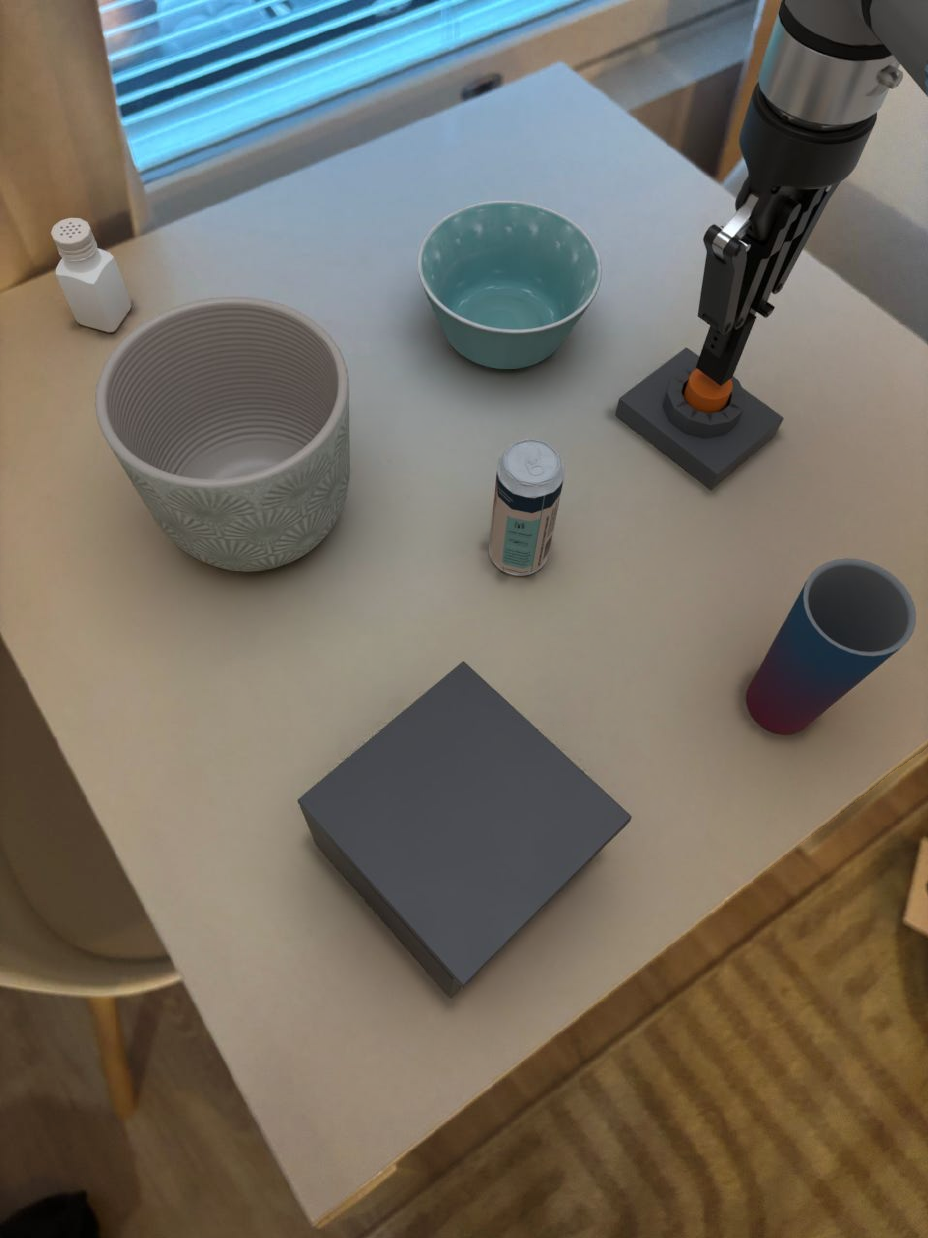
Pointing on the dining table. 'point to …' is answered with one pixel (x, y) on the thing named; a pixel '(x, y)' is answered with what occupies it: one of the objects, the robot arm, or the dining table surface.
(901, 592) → the cup
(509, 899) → the dark grey square slab
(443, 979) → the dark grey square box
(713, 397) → the button
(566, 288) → the bowl
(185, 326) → the planter
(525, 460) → the beer can
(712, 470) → the control block
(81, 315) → the pepper shaker
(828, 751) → the dining table surface
